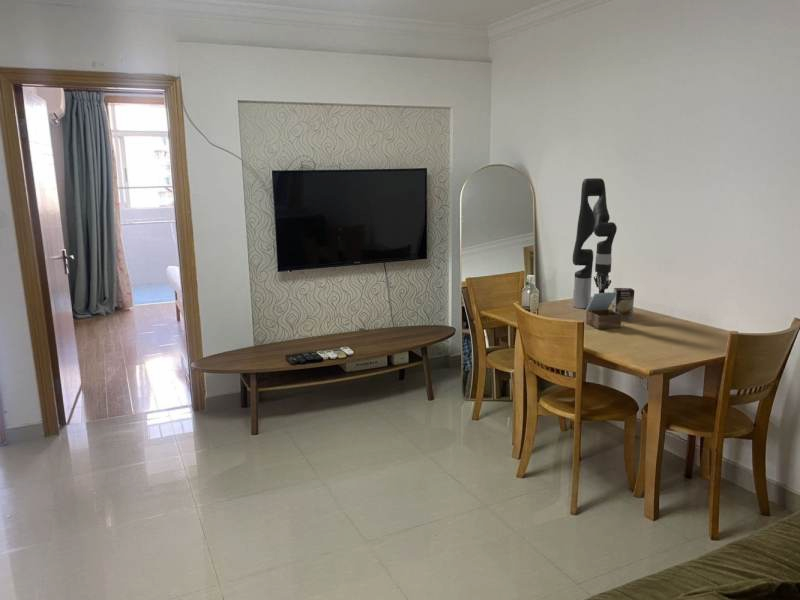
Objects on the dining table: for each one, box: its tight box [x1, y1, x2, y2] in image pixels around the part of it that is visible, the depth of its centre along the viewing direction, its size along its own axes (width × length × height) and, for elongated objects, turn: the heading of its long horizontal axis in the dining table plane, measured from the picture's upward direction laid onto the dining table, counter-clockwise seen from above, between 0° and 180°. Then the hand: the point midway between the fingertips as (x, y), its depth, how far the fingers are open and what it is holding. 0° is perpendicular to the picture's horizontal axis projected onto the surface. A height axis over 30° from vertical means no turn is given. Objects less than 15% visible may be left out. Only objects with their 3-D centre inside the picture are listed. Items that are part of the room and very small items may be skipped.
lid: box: [585, 291, 617, 312], centre depth 301 cm, size 12×12×1 cm
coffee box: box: [611, 287, 635, 321], centre depth 312 cm, size 9×6×16 cm
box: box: [585, 308, 622, 331], centre depth 300 cm, size 12×12×7 cm
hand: (601, 296), depth 300 cm, fingers closed
